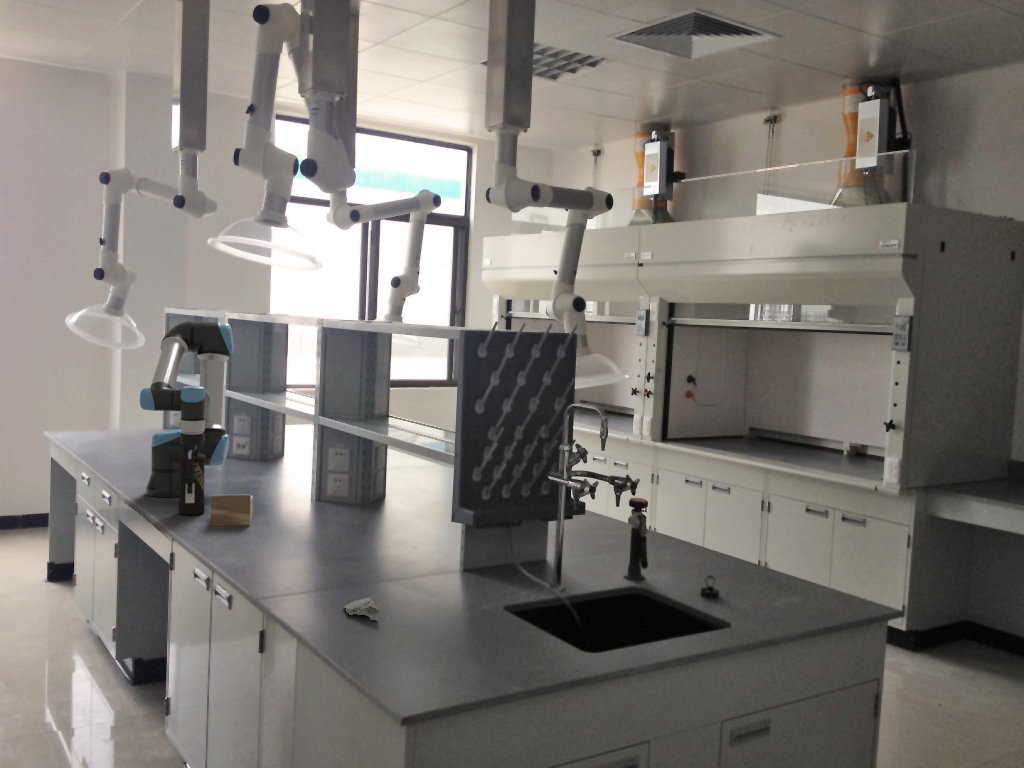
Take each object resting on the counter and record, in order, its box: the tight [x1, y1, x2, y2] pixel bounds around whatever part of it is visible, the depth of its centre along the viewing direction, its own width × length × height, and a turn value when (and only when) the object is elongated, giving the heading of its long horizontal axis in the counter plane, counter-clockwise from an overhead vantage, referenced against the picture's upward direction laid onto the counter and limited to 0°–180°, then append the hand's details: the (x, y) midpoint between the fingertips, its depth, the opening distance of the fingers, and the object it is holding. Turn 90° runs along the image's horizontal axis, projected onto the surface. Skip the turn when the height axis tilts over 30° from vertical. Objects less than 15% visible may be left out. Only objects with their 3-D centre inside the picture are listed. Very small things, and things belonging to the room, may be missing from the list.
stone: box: [343, 596, 380, 619], centre depth 206 cm, size 6×12×4 cm, turn 23°
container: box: [177, 453, 206, 516], centre depth 299 cm, size 9×9×20 cm
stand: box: [210, 493, 254, 527], centre depth 293 cm, size 17×12×10 cm
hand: (191, 499), depth 299 cm, fingers closed on container, 8 cm apart
